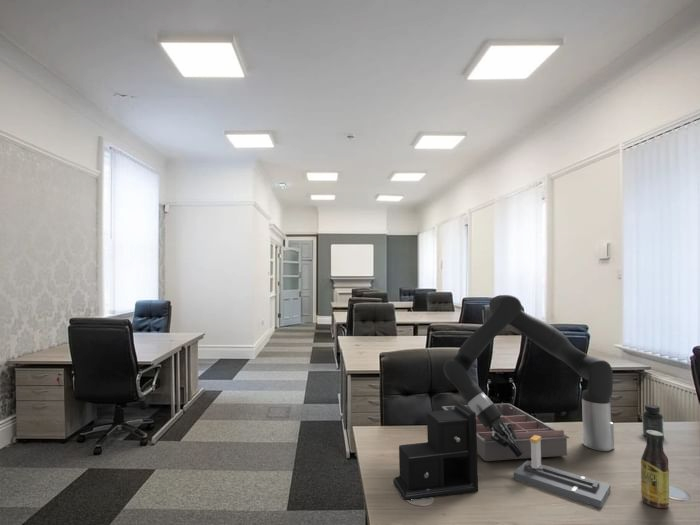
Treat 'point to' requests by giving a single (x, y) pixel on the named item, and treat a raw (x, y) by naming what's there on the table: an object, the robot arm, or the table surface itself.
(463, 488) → the black drawer cabinet
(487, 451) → the organizer tray
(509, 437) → the robot arm
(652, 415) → the supplement bottle
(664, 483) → the sauce bottle
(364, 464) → the table surface
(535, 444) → the fader tab
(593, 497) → the grey slider track base
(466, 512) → the table surface
